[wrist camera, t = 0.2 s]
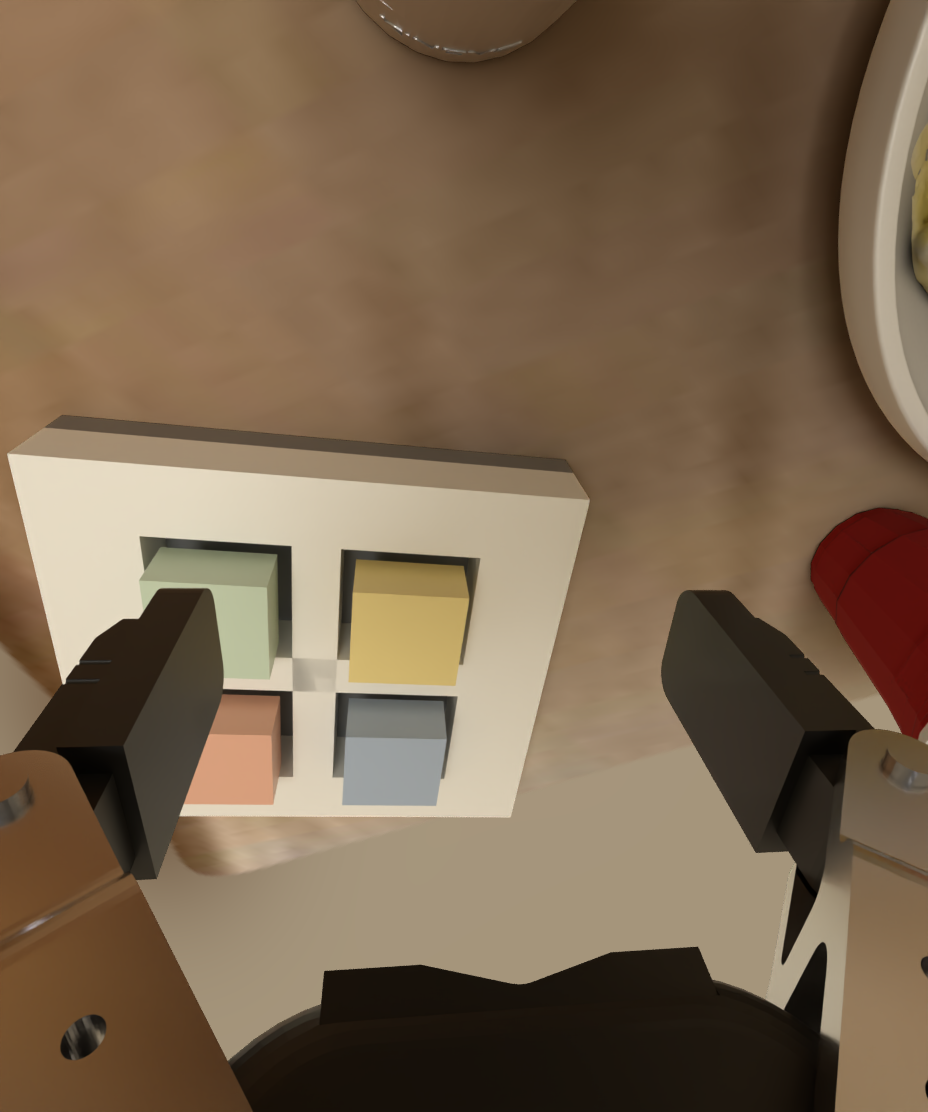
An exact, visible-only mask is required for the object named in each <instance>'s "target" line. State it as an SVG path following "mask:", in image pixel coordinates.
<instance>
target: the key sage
mask: <svg viewBox="0 0 928 1112" xmlns="http://www.w3.org/2000/svg"><path fill="white" fill-rule="evenodd" d="M139 585H140V591H141V598H142V605H143V611H144V610H145V608H146V607H147V605H148V604H149V602H150V600H151V599H152V597H153V596H154V594H155V593H156V591H157V590H158V589H160V588H208V589H210V590H211V592H212V594H213V598H214V603H215V610H216V617H217V624H218V631H219V638H220V645H221V652H222V659H223V667H224V678H237V679H267V680H270V676H271V672H272V668H273V664H274V660H275V656H276V652H277V648H278V644H279V615H278V564H277V554H263V553H247V552H231V551H215V550H199V549H183V548H166V547H160V548H159V550H158V551H157V553H156V555H155V556H154V558H153V559H152V561H151V562H150V564H149V566H148V567H147V569H146V570H145V572H144V573H143V575H142V576H141V578H140V580H139Z"/></svg>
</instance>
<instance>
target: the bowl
mask: <svg viewBox="0 0 928 1112" xmlns="http://www.w3.org/2000/svg"><path fill="white" fill-rule="evenodd" d="M838 256H839V277H840V287H841V297H842V303H843V309H844V315H845V320H846V324H847V329H848V333H849V337H850V341H851V344H852V347H853V350H854V353H855V356H856V359H857V362H858V365H859V367H860V370H861V372H862V374H863V377H864V379H865V381H866V384H867V386H868V388H869V389H870V391H871V393H872V395H873V397H874V399H875V401H876V402H877V404H878V406H879V407H880V409H881V410H882V412H883V413H884V415H885V416H886V418H887V419H888V421H889V422H890V423H891V425H892V426H893V427H894V428H895V430H896V431H897V432H898V433H899V434H900V436H901V437H902V438H903V439H904V440H905V441H906V442H907V443H908V444H909V445H910V446H911V447H912V448H913V449H914V450H915V451H916V452H917V453H918V454H919V455H920V456H921V457H923V458H924V459H925V460H926V461H927V462H928V0H890V3H889V5H888V8H887V10H886V13H885V16H884V19H883V21H882V24H881V27H880V30H879V33H878V36H877V39H876V41H875V44H874V47H873V50H872V53H871V56H870V60H869V63H868V66H867V70H866V73H865V76H864V80H863V83H862V86H861V90H860V94H859V98H858V102H857V106H856V110H855V114H854V118H853V122H852V127H851V132H850V137H849V142H848V147H847V152H846V159H845V165H844V172H843V179H842V187H841V198H840V209H839V230H838Z"/></svg>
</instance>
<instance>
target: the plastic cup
mask: <svg viewBox="0 0 928 1112" xmlns="http://www.w3.org/2000/svg"><path fill="white" fill-rule="evenodd" d="M811 581H812V582H813V584H814V589H815V591H816V592H817V594H818V596H819V598H820V599H821V601H822V603H823V604H824V606H825V607H826V609H827V610H828V612H829V613H830V615H831V616H832V618H833V619H834V621H835V623H836V625H837V627H838V629H839V630H840V632H841V634H842V636H843V637H844V639H845V641H846V642H847V644H848V645H849V647H850V649H851V650H852V652H853V653H854V655H855V656H856V658H857V659H858V661H859V663H860V664H861V666H862V667H863V669H864V670H865V672H866V673H867V675H868V677H869V678H870V680H871V681H872V683H873V684H874V686H875V687H876V689H877V690H878V692H879V694H880V695H881V697H882V698H883V700H884V701H885V703H886V704H887V706H888V708H889V710H890V711H891V713H892V715H893V717H894V719H895V721H896V722H897V724H898V726H899V728H900V730H901V732H902V734H904V735H907V736H910V737H912V738H915V739H917V740H919V741H921V742H923V743H925V744H928V519H927V518H925V517H922V516H920V515H917V514H915V513H912V512H906V511H901V510H898V509H886V508H877V509H873V510H869V511H866V512H862V513H858V514H856V515H854V516H853V517H851V518H849V519H848V520H846V521H845V522H843V523H841V524H840V525H838V526H836V527H835V528H834V529H833V531H832V532H831V533H830V534H829V535H828V536H827V537H826V538H825V539H824V540H823V541H822V542H821V543H820V545H819V547H818V549H817V552H816V554H815V556H814V558H813V560H812V562H811Z"/></svg>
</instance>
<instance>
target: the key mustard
mask: <svg viewBox="0 0 928 1112" xmlns="http://www.w3.org/2000/svg"><path fill="white" fill-rule="evenodd" d="M468 605H469V593H468V588H467V582H466V576H465V571H464V566H456V565H440V564H424V563H408V562H392V561H376V560H359V559H356V567H355V576H354V586H353V600H352V620H351V640H350V660H349V680H348V682H354V683H383V684H413V685H442V686H456V680H457V673H458V667H459V661H460V655H461V648H462V642H463V636H464V630H465V623H466V617H467V611H468Z"/></svg>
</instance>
